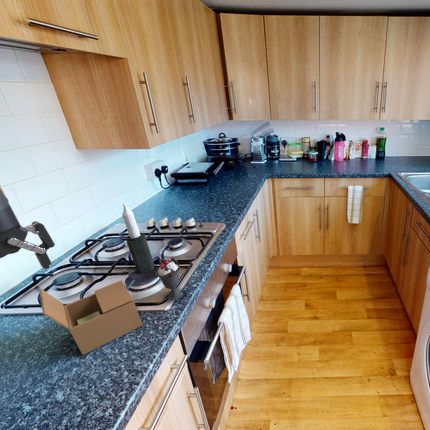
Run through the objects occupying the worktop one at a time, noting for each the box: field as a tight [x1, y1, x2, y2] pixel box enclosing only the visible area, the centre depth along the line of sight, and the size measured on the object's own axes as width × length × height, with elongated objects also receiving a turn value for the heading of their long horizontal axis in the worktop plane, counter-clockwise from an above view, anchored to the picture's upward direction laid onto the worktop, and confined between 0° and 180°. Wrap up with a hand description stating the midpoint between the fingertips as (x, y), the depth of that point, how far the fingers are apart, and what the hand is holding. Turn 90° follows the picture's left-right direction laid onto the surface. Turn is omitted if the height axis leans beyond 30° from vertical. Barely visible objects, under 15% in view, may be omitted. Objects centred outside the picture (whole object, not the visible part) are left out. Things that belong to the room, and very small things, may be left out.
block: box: [77, 311, 100, 325], centre depth 73 cm, size 4×4×4 cm
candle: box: [122, 203, 155, 275], centre depth 94 cm, size 5×5×25 cm
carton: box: [63, 279, 144, 356], centre depth 74 cm, size 13×11×9 cm
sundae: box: [154, 257, 184, 302], centre depth 84 cm, size 7×7×15 cm
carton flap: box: [39, 288, 69, 329], centre depth 66 cm, size 6×11×1 cm
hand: (20, 278), depth 60 cm, fingers open, 8 cm apart
